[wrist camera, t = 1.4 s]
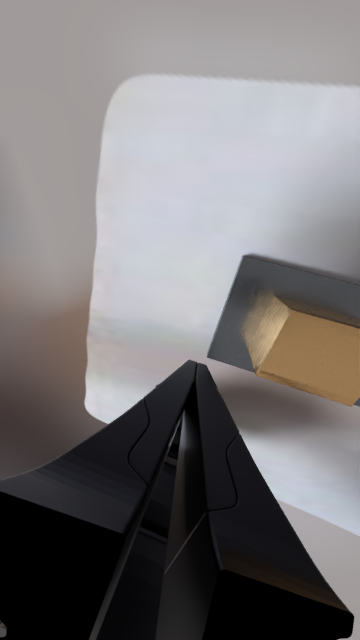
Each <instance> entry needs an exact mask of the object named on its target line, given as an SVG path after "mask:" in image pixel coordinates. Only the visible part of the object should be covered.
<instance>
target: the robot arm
mask: <svg viewBox="0 0 360 640" xmlns="http://www.w3.org/2000/svg"><path fill="white" fill-rule="evenodd" d="M353 623H354V616H353V614H352V613H351V612H350V611H349V610H348V609H347V607H346V606H345V605H344V604H343V602H342V601H341V600H340V599H339V597H338V596H337V595H336V594H335V592H334V591H333V590H332V588H331V587H330V585H329V584H328V583H327V582H326V580H325V579H324V577H323V576H322V574H321V573H320V571H319V570H318V568H317V567H316V566H315V564H314V562H313V561H312V559H311V557H310V556H309V554H308V553H307V551H306V549H305V548H304V546H303V544H302V543H301V541H300V539H299V537H298V536H297V534H296V532H295V531H294V529H293V527H292V526H291V524H290V522H289V521H288V519H287V517H286V516H285V514H284V512H283V511H282V509H281V507H280V505H279V504H278V502H277V500H276V499H275V497H274V495H273V494H272V492H271V490H270V489H269V487H268V485H267V483H266V482H265V480H264V478H263V476H262V475H261V473H260V471H259V469H258V468H257V466H256V464H255V462H254V460H253V458H252V456H251V454H250V453H249V451H248V449H247V447H246V445H245V443H244V441H243V439H242V437H241V435H240V434H239V431H238V429H237V427H236V425H235V423H234V421H233V419H232V416H231V414H230V412H229V410H228V408H227V406H226V404H225V402H224V400H223V398H222V396H221V394H220V392H219V390H218V388H217V386H216V384H215V382H214V380H213V378H212V376H211V374H210V372H209V370H208V368H207V366H206V365H204V364H201V363H197V362H195V361H192V360H188V361H187V362H185V363H184V364H183V365H182V366H181V367H179V368H178V369H177V370H176V371H175V372H174V373H172V374H171V375H170V376H169V377H168V378H166V379H165V380H164V381H163V382H162V383H160V384H159V385H157V386H156V388H155V389H153V390H152V391H151V392H150V393H149V394H147V395H146V396H145V397H144V398H143V399H141V400H140V401H139V402H138V403H137V404H135V405H134V406H133V407H132V408H130V409H129V410H128V411H127V412H125V413H124V414H123V415H121V416H120V417H118V418H117V419H115V420H114V421H113V422H111V423H110V424H108V425H107V426H105V427H104V428H102V429H101V430H99V431H98V432H96V433H95V434H93V435H91V436H90V437H88V438H87V439H85V440H84V441H82V442H81V443H80V444H78V445H76V446H75V447H73V448H72V449H70V450H69V451H67V452H66V453H64V454H62V455H61V456H59V457H57V458H56V459H54V460H52V461H50V462H48V463H46V464H44V465H42V466H40V467H38V468H35V469H33V470H30V471H27V472H24V473H21V474H18V475H15V476H11V477H8V478H5V479H2V480H0V640H337V639H340V638H349V637H350V636H351V635H352V631H353Z"/></svg>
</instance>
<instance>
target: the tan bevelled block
mask: <svg viewBox="0 0 360 640" xmlns="http://www.w3.org/2000/svg"><path fill="white" fill-rule="evenodd" d="M248 350H249V353H250V357H251V360H252V364H253V367H254V370H255V374H256V376H259V377H262V378H265V379H268V380H271V381H274V382H277V383H280V384H283V385H287V386H290V387H293V388H296V389H299V390H302V391H305V392H308V393H311V394H314V395H318V396H321V397H324V398H327V399H330V400H333V401H336V402H339V403H342V404H345V405H348V406H352V405H353V404H354V403H355V402H356V401H357V400H358V399H359V398H360V319H358V318H355V317H351V316H347V315H344V314H340V313H336V312H333V311H329V310H325V309H321V308H318V307H314V306H310V305H307V304H303V303H299V302H296V301H292V300H288V299H285V298H281V297H277V296H273V298H272V300H271V302H270V304H269V306H268V308H267V310H266V312H265V314H264V317H263V319H262V321H261V323H260V325H259V327H258V329H257V331H256V333H255V336H254V338H253V340H252V342H251V344H250V346H249V348H248Z"/></svg>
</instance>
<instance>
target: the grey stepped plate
mask: <svg viewBox="0 0 360 640" xmlns="http://www.w3.org/2000/svg"><path fill="white" fill-rule="evenodd" d="M273 296H277V297H281V298H285V299H288V300H292V301H296V302H299V303H303V304H307V305H310V306H314V307H318V308H321V309H325V310H329V311H333V312H336V313H340V314H344V315H347V316H351V317H355V318H358V319H360V285H356V284H352V283H348V282H344V281H340V280H336V279H332V278H328V277H324V276H320V275H316V274H312V273H309V272H305V271H301V270H297V269H293V268H289V267H285V266H281V265H277V264H273V263H269V262H265V261H261V260H257V259H253V258H249V257H245V256H242V258H241V261H240V264H239V267H238V269H237V272H236V275H235V278H234V280H233V283H232V286H231V289H230V292H229V294H228V297H227V300H226V303H225V305H224V308H223V311H222V314H221V317H220V319H219V322H218V325H217V328H216V330H215V333H214V336H213V339H212V342H211V344H210V347H209V350H208V353H207V357H208V358H211V359H214V360H217V361H220V362H223V363H226V364H229V365H233V366H236V367H239V368H242V369H245V370H248V371H251V372H254V373H255V370H254V367H253V364H252V360H251V357H250V353H249V350H248V348H249V346H250V344H251V342H252V340H253V338H254V336H255V333H256V331H257V329H258V327H259V325H260V323H261V321H262V319H263V317H264V314H265V312H266V310H267V308H268V306H269V304H270V302H271V300H272V298H273ZM354 405H357V406H360V398H359V399H358V400H357V401H356V402H355V403H354Z"/></svg>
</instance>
